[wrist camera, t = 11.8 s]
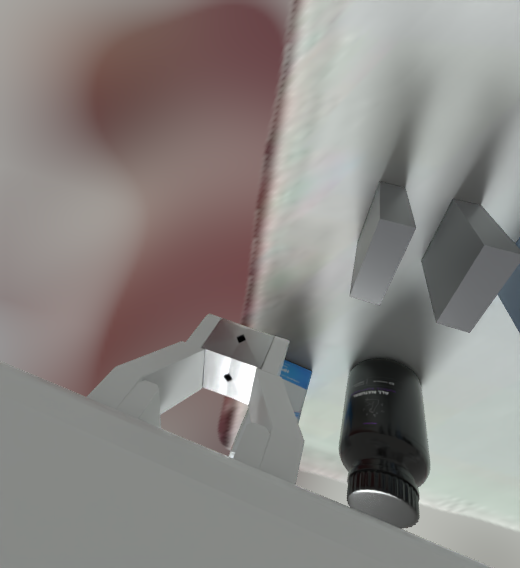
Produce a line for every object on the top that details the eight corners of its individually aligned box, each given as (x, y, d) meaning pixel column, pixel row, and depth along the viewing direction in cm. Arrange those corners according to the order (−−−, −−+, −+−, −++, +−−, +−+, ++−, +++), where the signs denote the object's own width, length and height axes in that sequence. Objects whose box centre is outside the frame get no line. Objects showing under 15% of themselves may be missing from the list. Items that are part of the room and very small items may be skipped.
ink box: (270, 351, 34) (228, 452, 25) (313, 370, 34) (287, 481, 24) (253, 396, 39) (212, 495, 30) (290, 413, 39) (261, 519, 29)
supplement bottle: (374, 343, 30) (371, 467, 20) (437, 381, 29) (465, 523, 20) (334, 381, 34) (316, 499, 24) (389, 414, 33) (393, 546, 24)
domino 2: (480, 205, 21) (525, 255, 15) (445, 267, 24) (469, 332, 18) (453, 198, 22) (484, 245, 15) (421, 261, 24) (436, 322, 18)
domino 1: (405, 187, 22) (416, 227, 16) (379, 249, 25) (379, 305, 18) (379, 181, 22) (379, 218, 16) (357, 243, 25) (349, 296, 19)
